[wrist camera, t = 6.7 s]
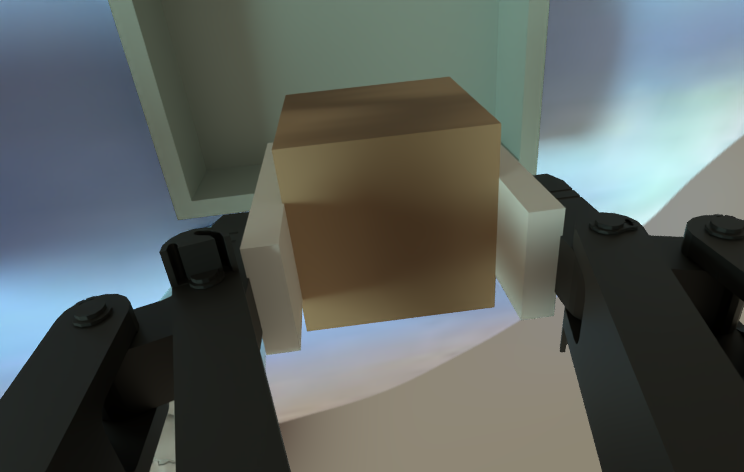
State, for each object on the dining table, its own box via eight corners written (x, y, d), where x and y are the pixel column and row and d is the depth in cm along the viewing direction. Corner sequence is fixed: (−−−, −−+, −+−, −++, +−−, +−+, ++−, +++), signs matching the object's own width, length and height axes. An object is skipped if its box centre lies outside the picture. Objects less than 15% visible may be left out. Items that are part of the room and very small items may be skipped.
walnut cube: (310, 238, 18) (307, 331, 13) (285, 95, 15) (271, 149, 11) (451, 221, 18) (494, 307, 13) (449, 76, 15) (501, 123, 11)
